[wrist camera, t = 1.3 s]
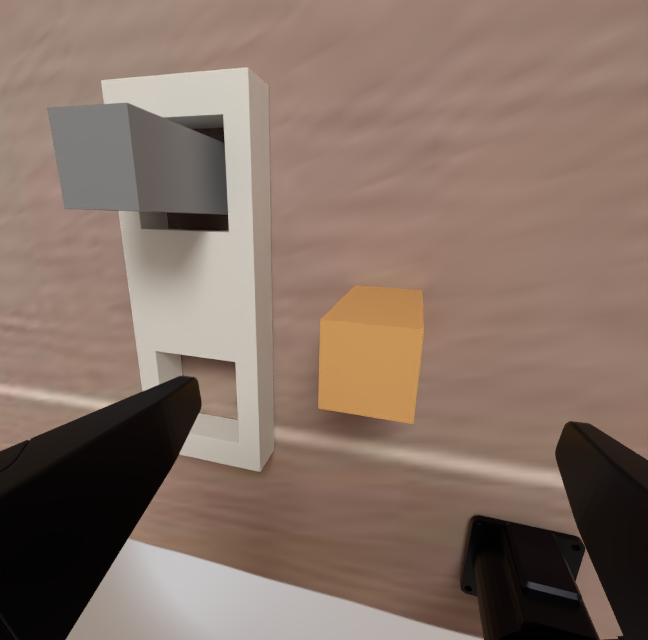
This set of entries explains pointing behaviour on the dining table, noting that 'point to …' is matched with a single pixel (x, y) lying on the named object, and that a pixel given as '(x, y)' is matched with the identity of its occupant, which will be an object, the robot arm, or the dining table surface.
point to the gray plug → (136, 162)
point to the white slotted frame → (209, 262)
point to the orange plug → (372, 353)
